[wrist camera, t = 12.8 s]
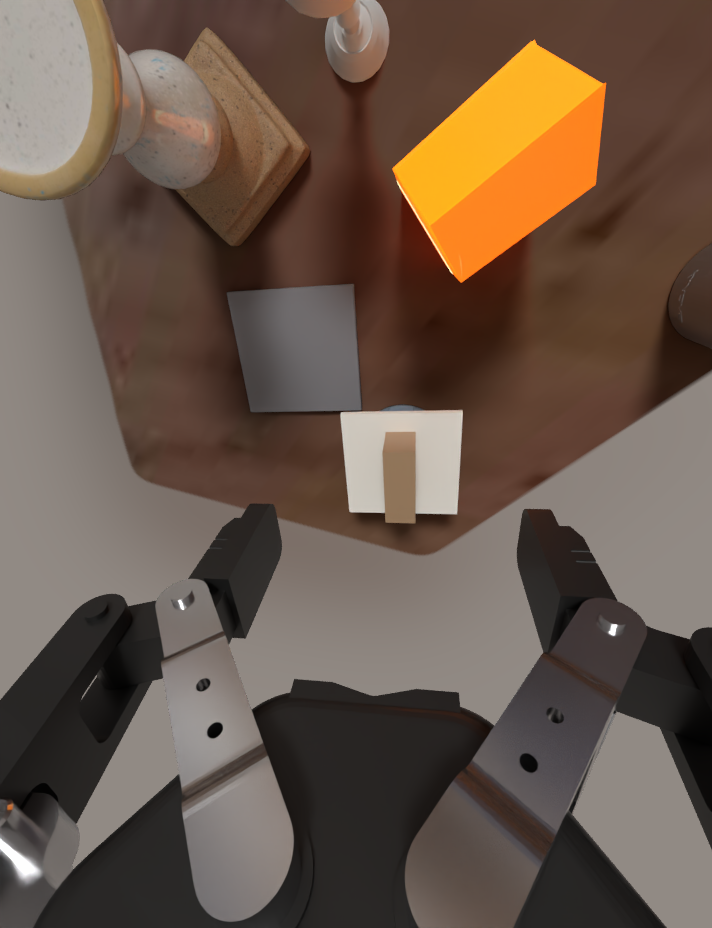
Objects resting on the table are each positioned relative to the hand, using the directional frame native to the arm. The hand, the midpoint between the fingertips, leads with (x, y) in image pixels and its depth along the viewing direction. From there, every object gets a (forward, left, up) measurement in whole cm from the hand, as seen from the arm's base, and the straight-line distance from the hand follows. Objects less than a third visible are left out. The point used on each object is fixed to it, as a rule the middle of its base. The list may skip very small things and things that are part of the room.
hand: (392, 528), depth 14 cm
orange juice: (-5, -11, -33) cm, 35 cm away
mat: (+12, +2, -33) cm, 35 cm away
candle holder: (+16, -16, -33) cm, 40 cm away
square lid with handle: (+1, +13, -28) cm, 31 cm away
